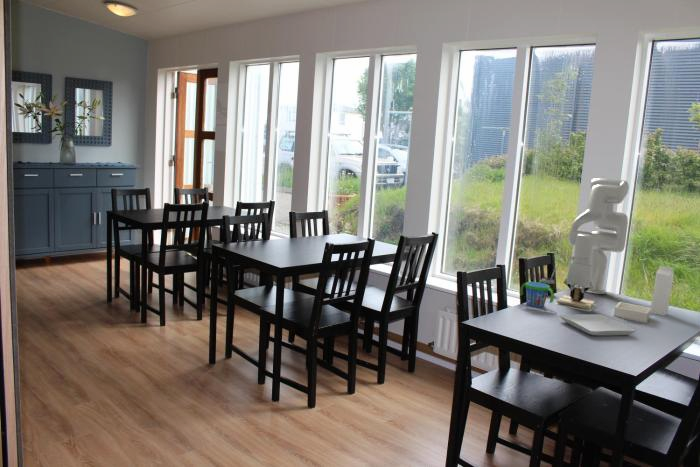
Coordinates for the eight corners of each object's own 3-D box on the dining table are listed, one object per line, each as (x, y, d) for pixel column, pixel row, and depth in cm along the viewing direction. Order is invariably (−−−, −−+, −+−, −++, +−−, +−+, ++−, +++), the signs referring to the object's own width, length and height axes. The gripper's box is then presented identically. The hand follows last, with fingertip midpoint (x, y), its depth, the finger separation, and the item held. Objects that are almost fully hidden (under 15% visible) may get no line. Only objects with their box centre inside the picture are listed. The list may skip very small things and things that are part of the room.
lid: (564, 296, 283) (565, 282, 282) (594, 302, 276) (596, 288, 275) (556, 302, 271) (558, 287, 270) (588, 309, 264) (590, 294, 263)
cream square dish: (618, 311, 270) (619, 301, 269) (649, 317, 263) (651, 307, 262) (613, 317, 259) (614, 307, 258) (646, 323, 252) (647, 313, 251)
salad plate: (590, 338, 225) (591, 330, 224) (557, 321, 245) (558, 313, 245) (636, 338, 231) (637, 329, 230) (600, 321, 251) (601, 313, 250)
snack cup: (513, 303, 269) (516, 281, 267) (526, 300, 276) (529, 279, 274) (543, 312, 257) (546, 289, 256) (556, 309, 264) (559, 287, 262)
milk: (663, 316, 268) (671, 268, 264) (649, 312, 272) (657, 266, 268) (667, 314, 272) (675, 267, 269) (653, 310, 276) (661, 264, 273)
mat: (561, 299, 284) (561, 297, 284) (596, 306, 276) (596, 305, 276) (553, 305, 271) (553, 304, 271) (590, 312, 262) (590, 311, 262)
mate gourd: (537, 295, 289) (541, 265, 286) (539, 291, 296) (543, 262, 294) (553, 297, 286) (557, 267, 284) (555, 294, 293) (559, 265, 291)
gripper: (561, 259, 271) (556, 297, 275) (599, 265, 263) (593, 304, 266) (565, 256, 278) (560, 294, 281) (602, 262, 269) (596, 301, 272)
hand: (576, 299), depth 273 cm, fingers closed on lid, 3 cm apart
